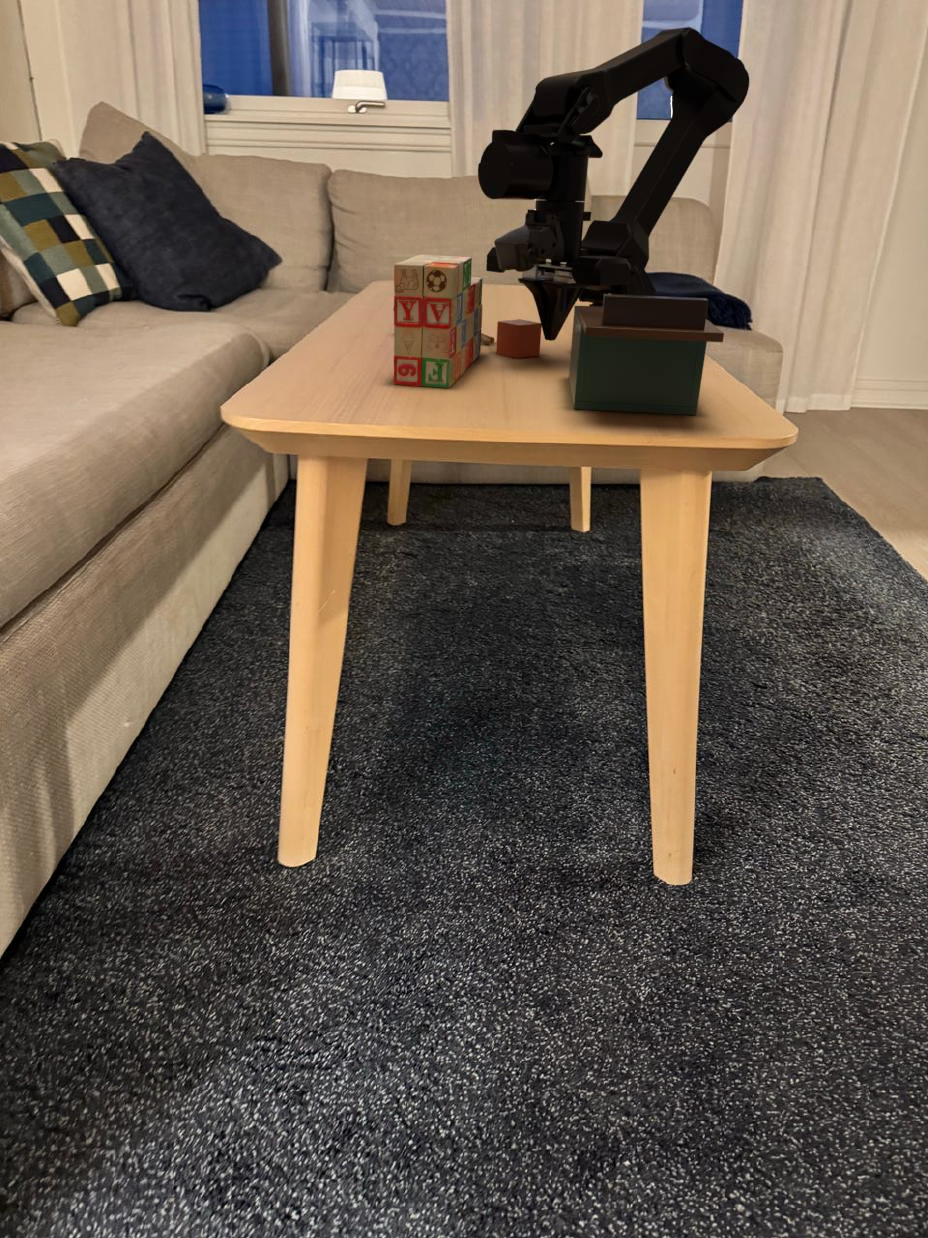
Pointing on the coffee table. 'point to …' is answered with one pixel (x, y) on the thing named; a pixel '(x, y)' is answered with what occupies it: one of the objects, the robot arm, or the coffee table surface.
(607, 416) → the coffee table surface
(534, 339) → the block
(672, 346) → the box
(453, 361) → the stack of blocks
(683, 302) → the lid
